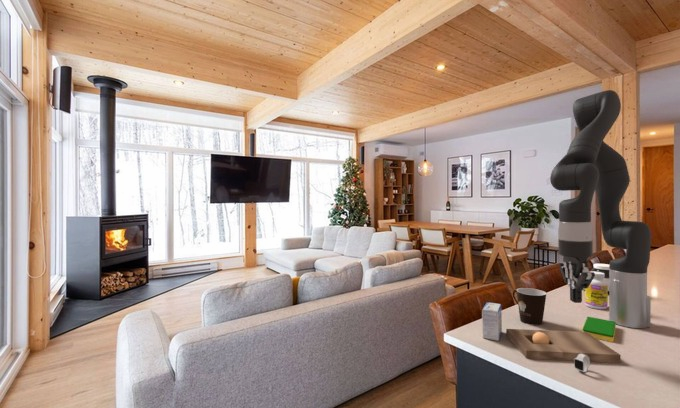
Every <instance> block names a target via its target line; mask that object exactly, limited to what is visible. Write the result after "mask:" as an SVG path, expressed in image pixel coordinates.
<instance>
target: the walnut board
mask: <svg viewBox="0 0 680 408" xmlns="http://www.w3.org/2000/svg"><path fill="white" fill-rule="evenodd" d="M505 329H506V330H505V332H506V333H505V334H506V337H507V338H508V339H509V341H511V343H512V344H513V345H514V346H515V347H516V349H518V351H519V352H520V353H521V354H522V355H523V356H524V357H525V359H539V360H555V361H556V360H557V361H574V359H575V358H576V357H577V356H578V355H579V354H584V355H587V356H588V357H589V358H590V362H595V363H597V362H599V363H615V364H621V354H620V353H618V352H617V351H615V349H612V348H611V347H609V346H608V345H607V344H605V343H604V342H602V340H600V339H596V338H595V337H593V336H592V335H590V334H589V333H587V332H583V331H576V330H575V331H569V330H568V331H567V330H547V329H523V328H522V329H520V328H519V329H518V328H505ZM537 332H542V333H544V334H546V335H547V336H548V338H549V344H534V342H533V339H532V338H533V335H534V334H535V333H537Z"/></svg>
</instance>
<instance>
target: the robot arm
mask: <svg viewBox="0 0 680 408" xmlns="http://www.w3.org/2000/svg"><path fill="white" fill-rule="evenodd" d="M621 103H622V102H621V98H620V96H619V95H618V93H617V92H616V91H615V90H614V89H613V90H612V89H608V90H607V89H605V90H602V91H599V92H595V93H592V94H590V95H586V96H583V97H580V98H577V99H576V100H574V102H573V104H572V112H573V117H574V121H575V123H576V126H577V130H578V132H577V134H576V135H575V137H573V139H572V140H571V142H570V144H569V147H568V149H567V153H565V155H564V156H563V157H562V158H561V159H560V160H559V161H558V162H557V163H556V164H555V166H554V167H553V169H552V171H551V173H550V178H549V179H550V184H551V187H553V188H554V189H555V190H557V191H563V192H565V191H579V193H578V195H577V196H576V197H574V198H573V197H572V198H569V199H563V200H560V202H559V203H558V220H559V221H558V228H557V229H558V230H557V232H558V233H557V234H558V235H557V236H558V240H557V241H558V243H557V246H558V254H559V255H560V256H563V260H562V261H563V262H561V263H558V268H559V270H560V273H561V276H562V278H563V281H564V283H565V284H567V286H568V288H569V297H570V298H569V300H570V302H573V303H575V304H576V303H577V304H581V303H582V302H583V289H584V288H588V287H589V285H590V283H591V282H592V280H593V278H594V277H595V273H594V272H590V271H591V270H590V269H589V262H588V258H591V257H592V256H594V255H593V254H594V252H593V251H594V250H593V242H594V241H593V226H592V204H593V203H592V202H593V199H594V195H596V200H597V205H598V210H599V217H600V219H599V220H600V225H601V226H600V227H601V233H602V237H603V241H604V242H605V244H606V245H607V246H608V247H611V248H615V249H622V250H626V252H625V255H624V256H623V257H620V258H613V259H611V260H610V261H609V268H610V269H609V294H608V297H609V299H608V300H609V302H608V303H609V304H608V306H609V307H608V311H609V313H608V317H609V318H608V319H609V321H614V322H616V325H619V326H621V327H625V328H632V329H644V328H648V327H649V328H651V318H652V317H651V315H652V313H651V312H652V311H651V310H652V309H651V308H652V307H651V306H652V305H651V303H652V302H651V301H652V299H651V298H652V297H651V296H649V295H648V268H649V267H648V266H649V264H650V258H651V248H652V247H651V246H652V245H651V244H652V232H651V228H650V226H649V225H648V224H647V223H646V222H643V221H635V220H623V219H622V217H621V213H620V211H621V210H620V206H621V201H622V199H623V197H624V196H625V193H626V192H627V189H628V187H629V184H630V183H631V181H630V180H631V178H630V174H629V173H630V172H629V169H628V164H627V161H626V159H625V158H624V157H623V156H622V155H621V154H620V153H619V152H618V151H616V149H614V148H613V147H611V146H610V145H609V144H607V142H605V141H604V140H605V138H606V136H607V135H608V133H609V132H610V131H611V129H612V127H613V125H615V122H616V121H617V119H618V118H619V116H620V113H621V107H622V105H621Z"/></svg>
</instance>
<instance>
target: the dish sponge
mask: <svg viewBox="0 0 680 408" xmlns="http://www.w3.org/2000/svg"><path fill="white" fill-rule="evenodd" d="M616 325H617V324H616V322H614V321H610V320H608V319H603V318H598V317H593V316H587V317H586V319H585V321H584V325H583V327H582V332H587V333H589V334H590V335H592V336H593V337H595V338H596V339H598V340H599V341H606V342H610V343H614V339H615V334H616Z"/></svg>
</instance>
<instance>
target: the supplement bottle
mask: <svg viewBox="0 0 680 408" xmlns="http://www.w3.org/2000/svg"><path fill="white" fill-rule="evenodd" d="M589 271H590V272H594V273H595V277H594V278H593V280H592V282H591V283H590V285H589V287H588V288H585V290H584V291H585V292H584V304H585V306H586V307H588V308H591V309H595V310H606V309H608V306H609V304H608V303H609V302H608V300H609V299H608V297H609V294H608V283H607V281H605V280H604V277H605V274H604V273H602V272H595V271H591V270H589Z"/></svg>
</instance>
